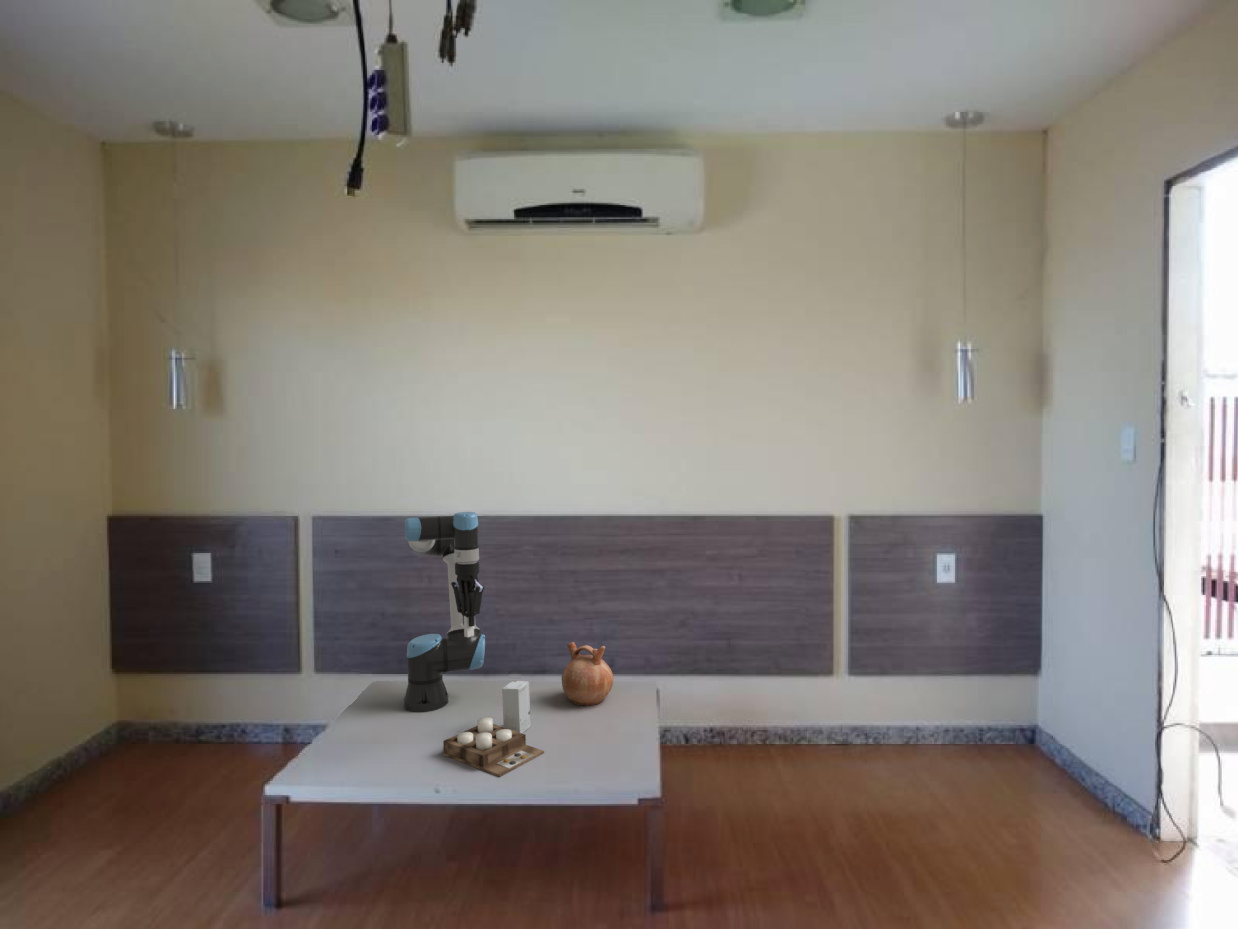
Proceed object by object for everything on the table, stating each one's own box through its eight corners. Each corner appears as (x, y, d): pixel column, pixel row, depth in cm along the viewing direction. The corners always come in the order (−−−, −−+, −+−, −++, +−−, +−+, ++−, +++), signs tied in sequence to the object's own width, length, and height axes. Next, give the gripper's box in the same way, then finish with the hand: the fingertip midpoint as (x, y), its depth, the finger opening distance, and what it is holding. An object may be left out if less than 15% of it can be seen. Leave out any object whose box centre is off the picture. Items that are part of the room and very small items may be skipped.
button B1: (472, 750, 219) (472, 736, 218) (484, 744, 222) (484, 731, 222) (483, 754, 216) (483, 740, 216) (495, 748, 220) (495, 735, 219)
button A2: (474, 733, 230) (474, 721, 230) (485, 728, 233) (485, 716, 233) (485, 737, 227) (484, 724, 227) (496, 732, 231) (495, 719, 230)
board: (442, 754, 223) (442, 741, 223) (487, 733, 237) (487, 721, 237) (499, 777, 208) (499, 762, 208) (544, 753, 223) (543, 739, 222)
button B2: (493, 746, 225) (492, 733, 225) (504, 740, 229) (504, 727, 229) (504, 750, 222) (503, 737, 222) (515, 744, 226) (514, 731, 226)
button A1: (454, 749, 224) (454, 736, 223) (466, 743, 227) (465, 730, 227) (465, 753, 221) (464, 740, 221) (476, 747, 224) (476, 734, 224)
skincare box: (520, 737, 234) (519, 690, 233) (502, 734, 236) (501, 688, 235) (531, 726, 242) (530, 680, 241) (514, 724, 244) (512, 679, 243)
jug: (624, 695, 267) (623, 640, 266) (595, 713, 252) (594, 654, 250) (581, 686, 277) (580, 632, 275) (551, 702, 262) (549, 646, 260)
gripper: (443, 561, 237) (446, 635, 239) (472, 566, 229) (474, 642, 231) (462, 557, 243) (464, 629, 245) (490, 562, 235) (492, 636, 237)
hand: (469, 635), depth 238 cm, fingers closed
